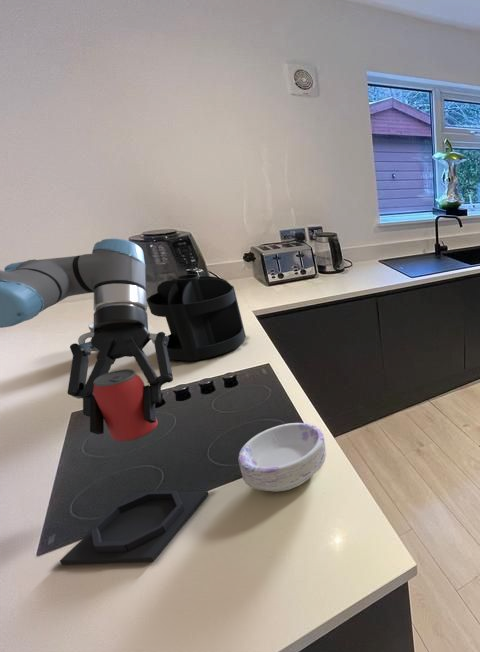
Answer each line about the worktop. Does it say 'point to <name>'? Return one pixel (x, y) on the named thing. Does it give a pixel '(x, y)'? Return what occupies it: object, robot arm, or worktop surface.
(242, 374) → the worktop surface
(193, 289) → the container
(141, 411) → the beer can
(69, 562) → the dock pad
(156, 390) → the robot arm
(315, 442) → the white round bowl
